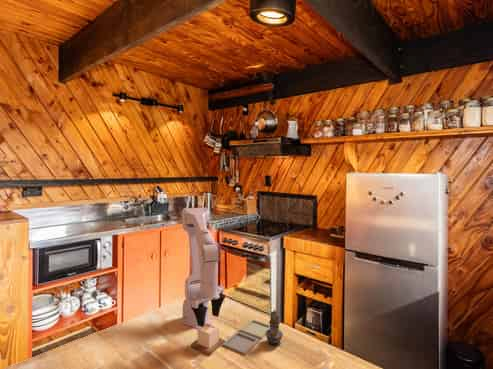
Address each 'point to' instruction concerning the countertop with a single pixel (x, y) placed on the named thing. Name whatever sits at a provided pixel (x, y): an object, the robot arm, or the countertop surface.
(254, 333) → the tray sage
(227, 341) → the tray grey
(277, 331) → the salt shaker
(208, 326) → the letter cube
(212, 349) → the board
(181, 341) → the countertop surface
